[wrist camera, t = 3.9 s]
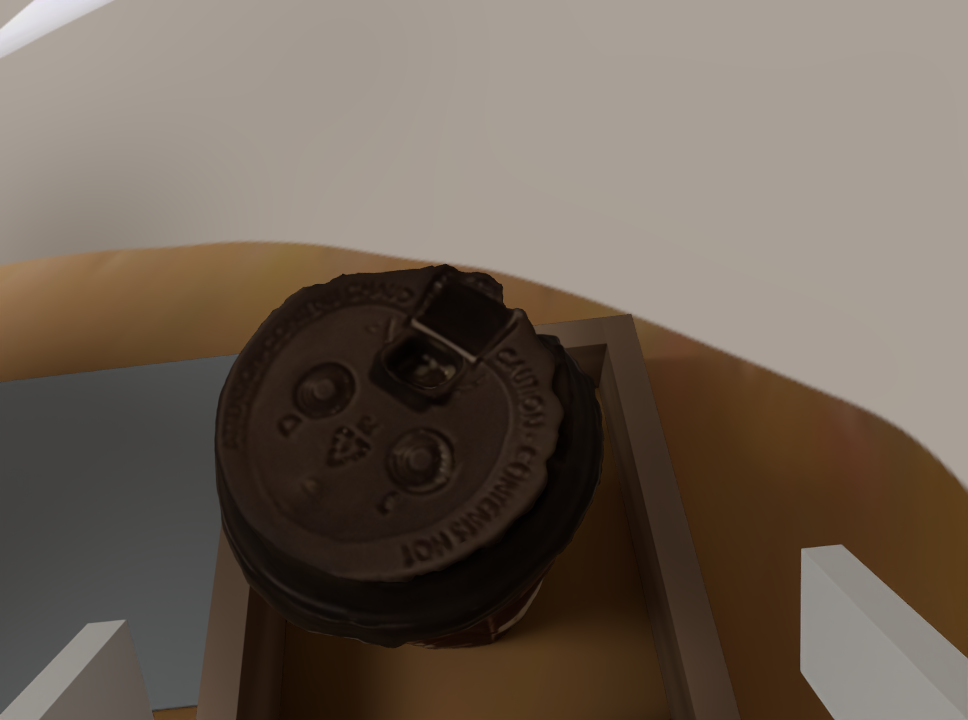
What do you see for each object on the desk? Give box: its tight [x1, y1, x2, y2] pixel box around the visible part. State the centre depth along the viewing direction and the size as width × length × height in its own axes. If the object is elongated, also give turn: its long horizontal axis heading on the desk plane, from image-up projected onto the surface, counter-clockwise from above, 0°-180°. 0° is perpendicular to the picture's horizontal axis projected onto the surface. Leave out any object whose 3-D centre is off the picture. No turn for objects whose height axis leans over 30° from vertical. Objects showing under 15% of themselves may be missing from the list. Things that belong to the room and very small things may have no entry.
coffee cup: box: [214, 264, 604, 649], centre depth 18 cm, size 9×8×13 cm
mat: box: [0, 354, 239, 714], centre depth 25 cm, size 16×14×1 cm
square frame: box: [196, 314, 741, 720], centre depth 22 cm, size 15×15×4 cm
